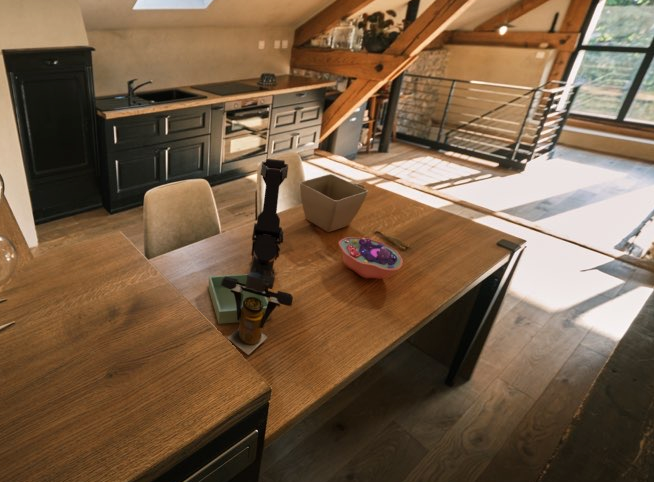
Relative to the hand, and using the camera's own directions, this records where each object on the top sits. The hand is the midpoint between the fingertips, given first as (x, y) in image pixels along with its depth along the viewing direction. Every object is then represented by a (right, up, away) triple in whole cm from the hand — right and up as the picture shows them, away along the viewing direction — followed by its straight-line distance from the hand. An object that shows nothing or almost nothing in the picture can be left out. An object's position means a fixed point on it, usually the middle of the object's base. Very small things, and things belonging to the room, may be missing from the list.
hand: (249, 324), depth 100 cm
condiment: (0, -6, +4) cm, 7 cm away
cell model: (+46, +5, +32) cm, 56 cm away
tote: (0, -1, +17) cm, 17 cm away
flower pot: (+44, +18, +61) cm, 78 cm away
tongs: (+64, +12, +49) cm, 81 cm away
